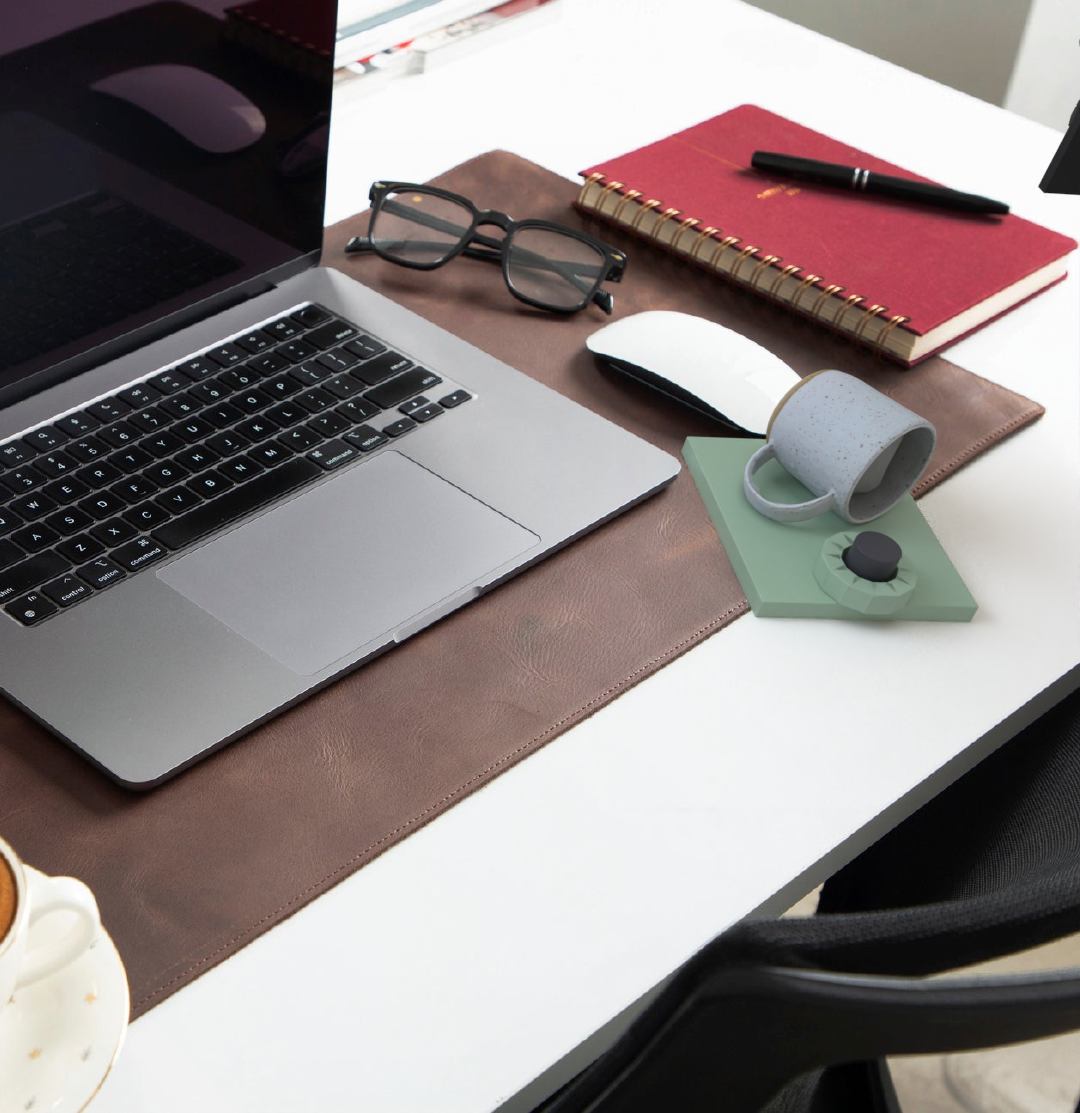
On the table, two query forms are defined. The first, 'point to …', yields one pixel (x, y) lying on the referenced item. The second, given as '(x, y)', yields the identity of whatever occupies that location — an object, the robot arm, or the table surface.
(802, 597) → the scale
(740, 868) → the table surface
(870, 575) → the button
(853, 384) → the ceramic mug
